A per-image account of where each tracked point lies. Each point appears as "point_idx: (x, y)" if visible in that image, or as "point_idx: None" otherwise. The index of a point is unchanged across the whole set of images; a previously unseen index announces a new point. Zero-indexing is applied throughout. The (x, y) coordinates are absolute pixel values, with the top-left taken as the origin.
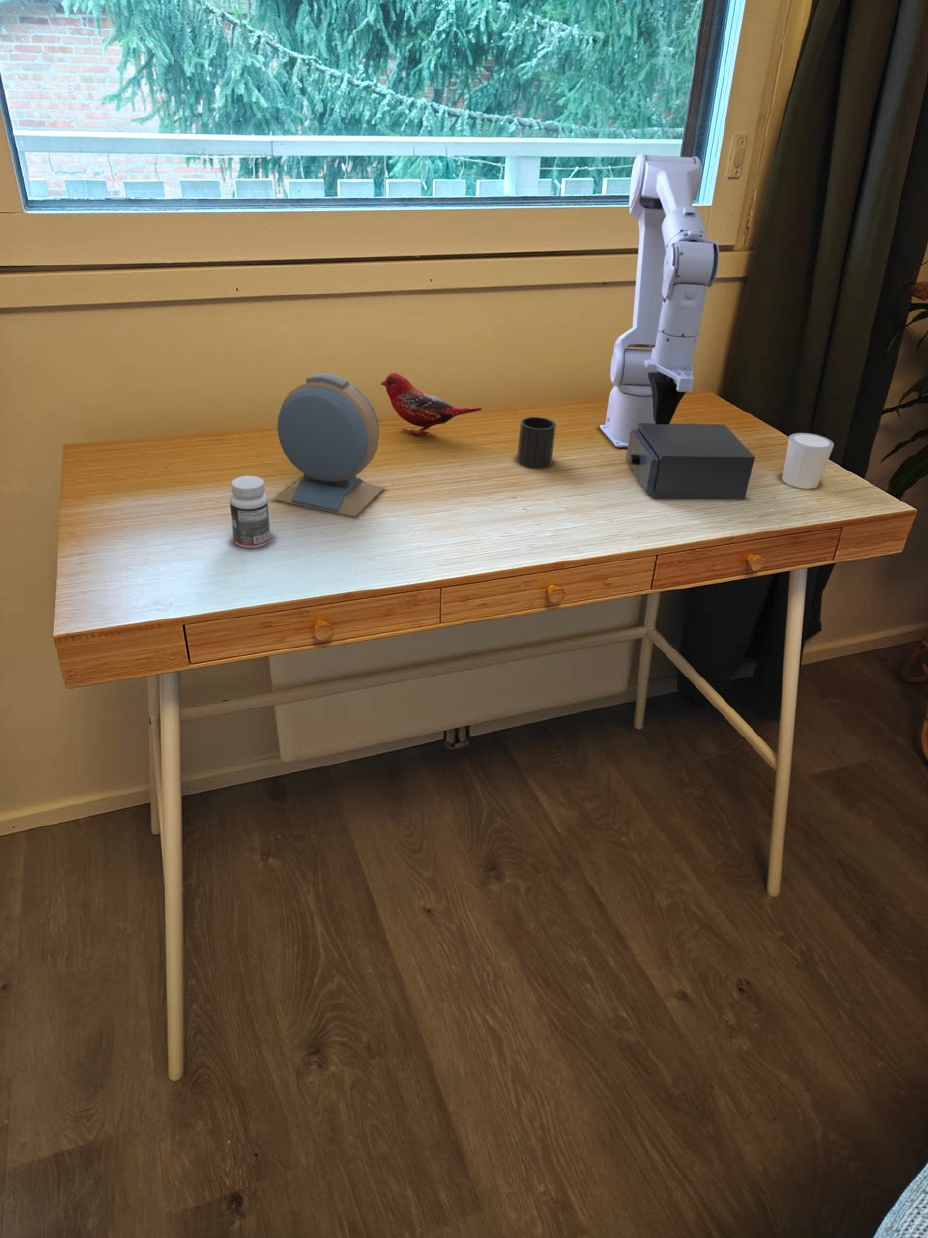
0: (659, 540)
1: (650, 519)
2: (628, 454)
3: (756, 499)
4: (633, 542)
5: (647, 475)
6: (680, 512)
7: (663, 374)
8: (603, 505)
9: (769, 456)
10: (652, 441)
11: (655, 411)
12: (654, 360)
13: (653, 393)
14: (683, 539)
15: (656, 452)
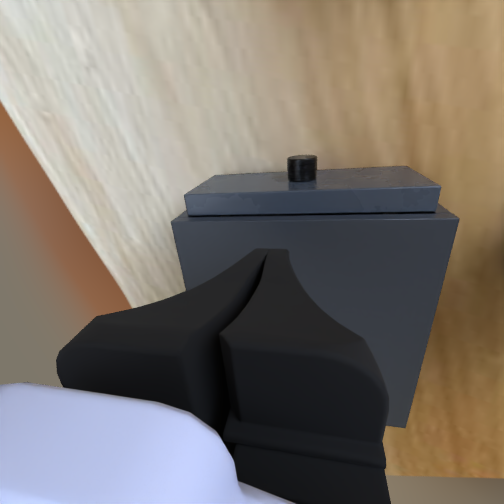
0: (50, 158)
1: (122, 160)
2: (394, 170)
3: None
4: (22, 104)
5: (212, 182)
6: (165, 224)
7: (242, 452)
8: (158, 58)
9: (408, 431)
10: (277, 223)
11: (245, 262)
12: None
13: (268, 295)
14: (69, 201)
15: (217, 217)
